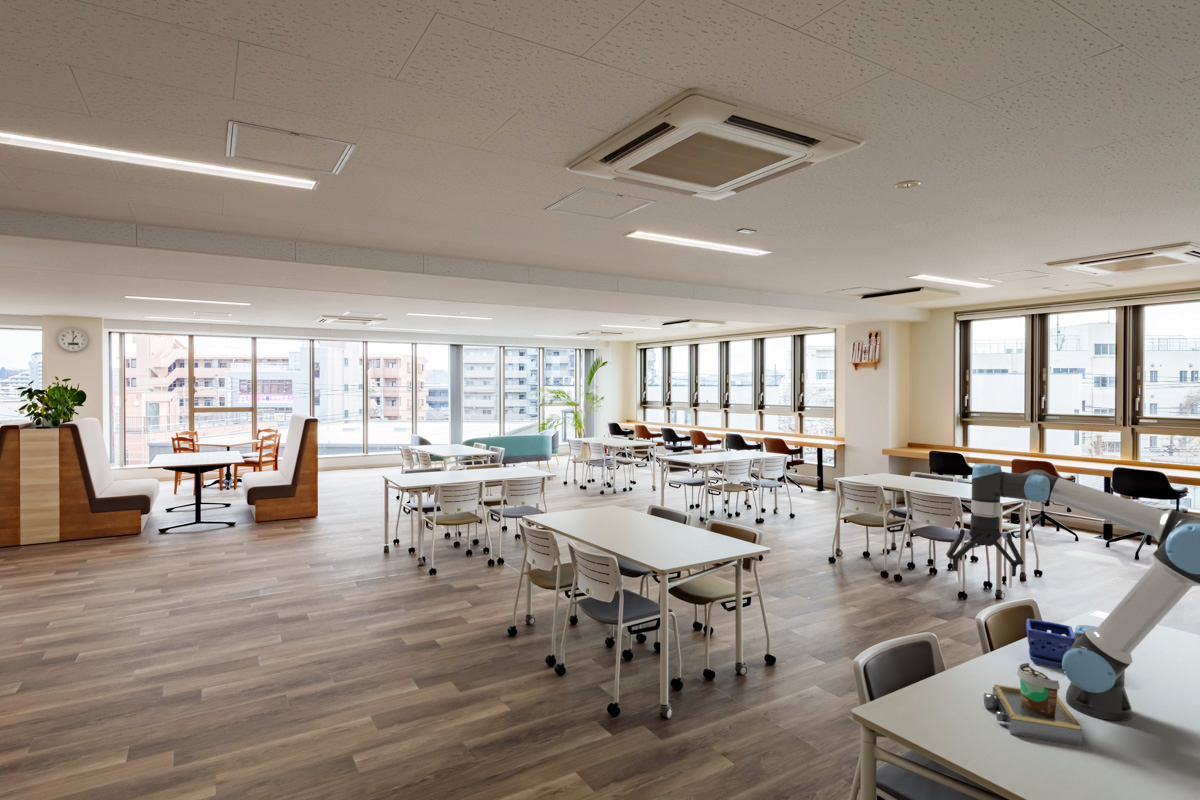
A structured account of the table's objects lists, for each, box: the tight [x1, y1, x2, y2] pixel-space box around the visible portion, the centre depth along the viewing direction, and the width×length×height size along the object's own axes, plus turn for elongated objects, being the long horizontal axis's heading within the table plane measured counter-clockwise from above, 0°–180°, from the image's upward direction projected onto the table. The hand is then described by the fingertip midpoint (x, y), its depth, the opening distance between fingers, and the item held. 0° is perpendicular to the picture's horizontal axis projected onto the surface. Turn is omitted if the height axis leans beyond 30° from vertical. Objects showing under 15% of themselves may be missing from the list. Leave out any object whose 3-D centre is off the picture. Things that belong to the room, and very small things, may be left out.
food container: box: [1016, 662, 1061, 716], centre depth 180 cm, size 12×6×10 cm, turn 2°
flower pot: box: [1025, 618, 1075, 670], centre depth 220 cm, size 13×13×12 cm
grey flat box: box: [983, 684, 1083, 747], centre depth 180 cm, size 19×20×5 cm
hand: (983, 584), depth 197 cm, fingers open, 13 cm apart
